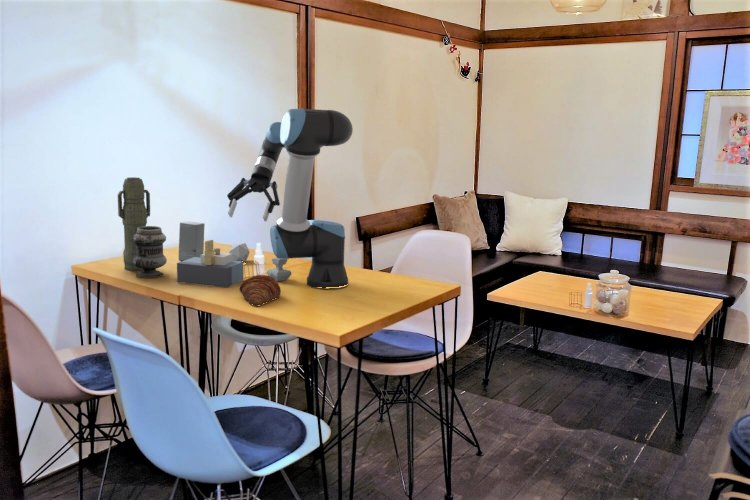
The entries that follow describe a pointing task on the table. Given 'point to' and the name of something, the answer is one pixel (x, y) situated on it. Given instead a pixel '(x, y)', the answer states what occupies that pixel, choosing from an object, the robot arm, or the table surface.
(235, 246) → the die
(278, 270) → the stamp
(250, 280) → the brown ridged rounded piece
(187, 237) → the skincare box
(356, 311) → the table surface
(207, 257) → the tan upright block
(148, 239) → the apothecary jar
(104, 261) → the table surface
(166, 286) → the table surface
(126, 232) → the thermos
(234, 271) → the box
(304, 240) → the robot arm
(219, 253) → the light grey block
